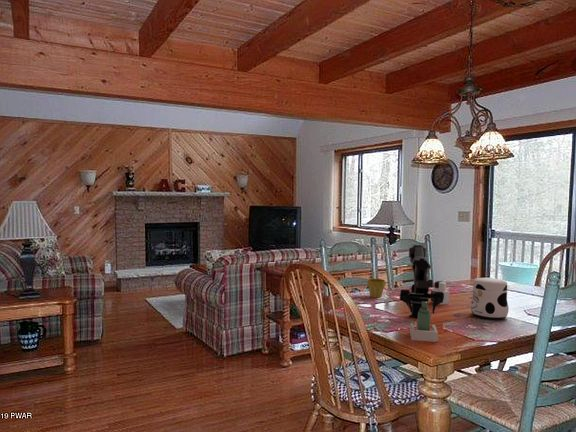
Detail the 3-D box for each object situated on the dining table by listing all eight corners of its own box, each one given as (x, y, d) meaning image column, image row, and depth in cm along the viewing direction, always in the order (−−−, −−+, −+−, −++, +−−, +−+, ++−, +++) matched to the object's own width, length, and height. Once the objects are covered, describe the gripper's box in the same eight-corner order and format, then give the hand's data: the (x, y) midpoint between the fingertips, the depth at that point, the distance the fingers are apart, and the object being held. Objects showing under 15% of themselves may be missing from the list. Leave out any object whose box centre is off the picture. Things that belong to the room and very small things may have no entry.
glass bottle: (422, 332, 194) (423, 299, 193) (432, 336, 189) (433, 302, 188) (414, 334, 191) (415, 301, 190) (424, 338, 186) (425, 304, 185)
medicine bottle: (430, 302, 251) (431, 281, 250) (439, 300, 254) (440, 280, 254) (439, 305, 245) (440, 283, 244) (449, 303, 248) (450, 282, 247)
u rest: (409, 332, 196) (410, 323, 196) (434, 334, 194) (434, 325, 194) (411, 339, 186) (411, 330, 186) (437, 342, 184) (437, 332, 184)
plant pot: (388, 297, 260) (389, 281, 260) (374, 299, 256) (374, 282, 255) (377, 293, 269) (378, 277, 269) (363, 295, 265) (363, 279, 264)
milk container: (462, 313, 228) (463, 278, 227) (487, 310, 235) (488, 276, 234) (490, 323, 212) (491, 285, 211) (516, 319, 219) (517, 283, 218)
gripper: (401, 271, 203) (401, 301, 193) (444, 273, 199) (446, 304, 189) (399, 285, 211) (400, 314, 201) (441, 287, 207) (443, 317, 197)
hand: (422, 312), depth 197 cm, fingers open, 9 cm apart
